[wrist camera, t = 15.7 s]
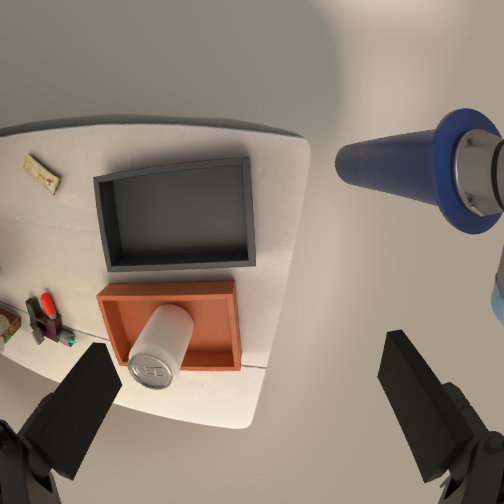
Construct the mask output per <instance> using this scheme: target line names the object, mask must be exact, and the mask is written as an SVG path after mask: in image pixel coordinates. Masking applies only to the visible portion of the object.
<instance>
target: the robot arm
mask: <svg viewBox="0 0 504 504" xmlns="http://www.w3.org/2000/svg"><path fill="white" fill-rule="evenodd" d="M450 168H451V179H452V184H453V188H454V191H455V194H456V196H457V198H458V200H459V201H460V203H461V204H462V206H463V207H464V208H465V209H467V210H468V211H469V212H472V213H474V214H478V215H480V216H486V215H491V214H496V213H502V212H504V139H503V138H500V137H498V136H496V135H494V134H492V133H489V132H487V131H485V130H482V129H472V130H467V131H465V132H463V133H462V134H461V135H460V136H459V137H458V139H457V140H456V142H455V144H454V147H453V150H452V155H451V167H450ZM491 304H492V307H493V311H494V313H495V315H496V317H497V318H498V320H499V321H500V322H501V323H502V324H503V325H504V247H503V251H502V256H501V260H500V264H499V267H498V271H497V273H496V275H495V284H494V288H493V292H492V296H491ZM377 377H378V379H379V381H380V383H381V385H382V387H383V389H384V391H385V393H386V395H387V398H388V400H389V402H390V404H391V406H392V408H393V410H394V413H395V415H396V417H397V419H398V421H399V424H400V426H401V428H402V430H403V433H404V435H405V437H406V440H407V442H408V444H409V446H410V449H411V451H412V453H413V456H414V458H415V461H416V463H417V465H418V468H419V471H420V473H421V476H422V478H423V481H424V483H427V482H430V481H432V480H434V479H437V478H439V477H441V476H442V475H443V474H444V473H445V472H446V471H447V470H448V469H449V471H450V475H449V477H447V478H446V480H445V481H444V482H443V483H442V484H441V486H440V487H441V488H442V487H443V486H444V485H445V484H446V485H445V488H444V490H443V493H442V495H441V498H440V500H439V502H438V504H504V436H503V435H502V434H501V433H499V432H496V431H490V432H489V430H488V429H487V428H486V427H485V425H484V423H483V422H482V420H481V419H480V417H479V416H478V414H477V413H476V411H475V410H474V409H473V407H472V406H470V403H469V401H468V400H467V399H465V396H464V394H463V393H462V391H461V390H460V389H459V388H458V387H457V386H455V385H454V384H452V383H451V382H448V383H445V384H441V383H440V381H439V380H438V378H437V377H436V375H435V374H434V373H433V372H432V370H431V368H430V367H429V366H428V364H427V363H426V361H425V360H424V359H423V357H422V356H421V355H420V353H419V352H418V351H417V349H416V348H415V347H414V345H413V344H412V343H411V341H410V340H409V339H408V337H407V336H406V335H405V333H404V332H403V331H402V330H395V331H390V332H387V335H386V340H385V345H384V350H383V355H382V359H381V364H380V369H379V373H378V376H377ZM121 387H122V383H121V381H120V378H119V376H118V374H117V371H116V369H115V367H114V364H113V362H112V359H111V357H110V354H109V352H108V349H107V347H106V344H105V343H95V342H93V343H92V345H91V346H90V347H89V348H88V349H87V351H86V352H85V353H84V354H83V356H82V357H81V358H80V359H79V360H78V362H77V363H76V364H75V365H74V367H73V368H72V369H71V371H70V372H69V373H68V374H67V376H66V377H65V378H64V380H63V381H62V382H61V383H60V385H59V386H58V388H57V389H56V390H55V391H54V393H50V394H48V395H47V396H46V397H44V398H43V399H42V400H41V402H40V403H39V405H38V407H37V408H36V409H35V410H34V411H33V413H32V414H31V415H30V417H29V418H28V419H27V421H26V422H25V424H24V425H23V427H22V428H21V429H20V431H19V432H18V433H17V435H16V433H15V432H14V431H13V430H12V428H11V427H10V426H9V425H8V423H7V422H6V421H4V420H0V504H61V501H60V497H59V494H58V491H57V487H56V484H55V480H54V477H53V474H52V473H51V472H50V471H51V469H52V468H53V469H54V470H55V471H56V472H57V473H58V474H59V475H61V476H63V477H65V478H68V479H70V480H72V481H73V480H74V477H75V475H76V473H77V471H78V469H79V467H80V465H81V463H82V461H83V459H84V457H85V455H86V453H87V451H88V449H89V447H90V444H91V443H92V441H93V439H94V437H95V435H96V433H97V431H98V429H99V427H100V425H101V424H102V422H103V420H104V418H105V416H106V414H107V412H108V410H109V408H110V406H111V405H112V403H113V401H114V399H115V397H116V396H117V394H118V392H119V390H120V388H121Z"/></svg>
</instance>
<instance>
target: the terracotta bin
mask: <svg viewBox="0 0 504 504" xmlns="http://www.w3.org/2000/svg"><path fill="white" fill-rule="evenodd" d="M97 299H98V303H99V307H100V310H101V313H102V317H103V320H104V323H105V326H106V329H107V332H108V335H109V338H110V341H111V344H112V347H113V350H114V353H115V355H116V358H117V361H118V363H119V365H120V366H128V361H129V353H130V351H131V349H132V347H133V345H134V344H135V342H136V340H137V339H138V337H139V335H140V334H141V332H142V330H143V329H144V327H145V326H146V324H147V323H148V321H149V319H150V318H151V316H152V315H153V313H154V312H155V310H156V309H157V308H158V307H160V306H162V305H166V304H172V305H177V306H179V307H181V308H183V309H184V310H186V311H187V312H188V313H189V315H190V316H191V318H192V320H193V324H194V328H193V332H192V335H191V338H190V341H189V344H188V347H187V350H186V353H185V356H184V358H183V361H182V364H181V367H180V370H187V371H240V370H241V356H242V351H241V341H240V331H239V320H238V309H237V298H236V286H235V280H229V281H204V282H173V283H127V284H108V285H107V286H106V287H105V288H104V289H103V290H102V291H101V292H100V293H99V294H97Z"/></svg>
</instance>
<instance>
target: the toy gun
mask: <svg viewBox="0 0 504 504" xmlns="http://www.w3.org/2000/svg"><path fill="white" fill-rule="evenodd" d="M40 300H41V302H42V305H43V307H44V310H45V312H46V314H47V316H46V315H44V314H42V313H40V309H39V306H38V303H37V301H36V300H34V299H32V298H29V299H28V300H26V306H27V309H28V312H29V315H30V321H31V323H30V326H31V327H32V329H33V330H34V331H33V332H32V335H33V337H34V339H35V341H36V343H37V344H38V345H40V344H41V343H42V342H43V341H44V340H45V339H44V336H46V337H47V338H49V339H51V340H53V341H55V342H57V343H58V342H59V341H60V342H61V343H63V344H65V345H67V346H69V347H71V346H72V345H73V343H76V342H75V341H74V340H75V336H74V335H73V334H71V333H69V332H67V331H62V326H61V316H58V315H56V314H55V313H56V310H55V308H54V305H53V303H52V300H51V298H50V296H49V294H47V293H44V294H42V295H41V298H40ZM48 316H49V317H48Z"/></svg>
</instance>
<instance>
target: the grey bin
mask: <svg viewBox="0 0 504 504" xmlns="http://www.w3.org/2000/svg"><path fill="white" fill-rule="evenodd" d="M93 179H94V190H95V199H96V207H97V214H98V221H99V228H100V234H101V240H102V245H103V251H104V256H105V261H106V266H107V270H108V272H131V271H159V270H185V269H208V268H230V267H250V266H256V252H255V235H254V217H253V199H252V182H251V165H250V157H243V158H228V159H216V160H205V161H195V162H186V163H178V164H170V165H162V166H155V167H148V168H142V169H136V170H129V171H124V172H118V173H113V174H107V175H102V176H97V177H93Z"/></svg>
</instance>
